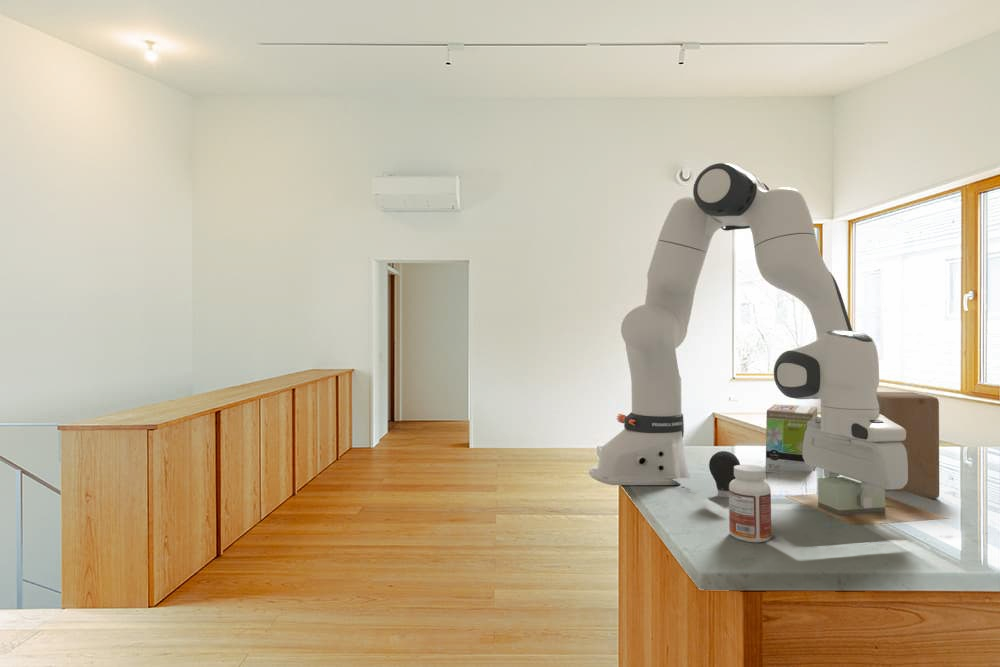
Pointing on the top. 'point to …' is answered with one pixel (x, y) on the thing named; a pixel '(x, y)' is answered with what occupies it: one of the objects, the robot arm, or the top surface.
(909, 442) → the wooden block
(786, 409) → the tea box
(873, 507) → the block
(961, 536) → the top surface
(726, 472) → the light bulb
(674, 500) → the top surface
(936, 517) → the oak board
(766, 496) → the pill bottle
